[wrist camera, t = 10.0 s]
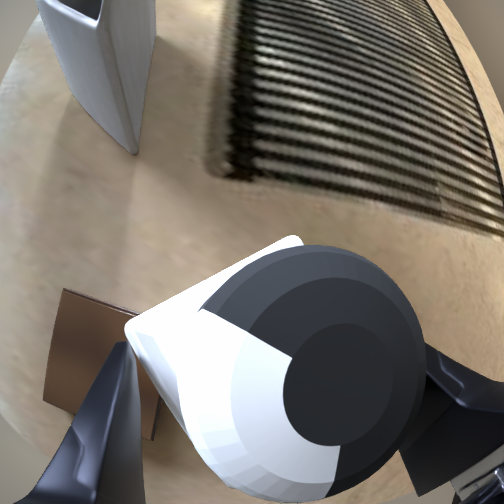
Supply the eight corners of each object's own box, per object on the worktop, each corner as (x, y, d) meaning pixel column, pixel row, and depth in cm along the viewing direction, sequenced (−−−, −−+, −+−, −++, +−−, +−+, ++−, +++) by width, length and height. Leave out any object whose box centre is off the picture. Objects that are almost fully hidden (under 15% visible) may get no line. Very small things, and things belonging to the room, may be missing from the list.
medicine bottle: (251, 268, 18) (373, 166, 7) (311, 372, 17) (481, 396, 6) (140, 328, 16) (72, 315, 5) (207, 437, 15) (277, 577, 4)
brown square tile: (155, 433, 20) (152, 443, 18) (50, 395, 19) (40, 401, 17) (180, 324, 22) (179, 325, 20) (70, 289, 21) (61, 287, 19)
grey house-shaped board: (89, 40, 25) (63, -100, 7) (157, 33, 27) (160, -119, 8) (54, 162, 22) (-55, -6, 4) (138, 155, 24) (94, -67, 5)
